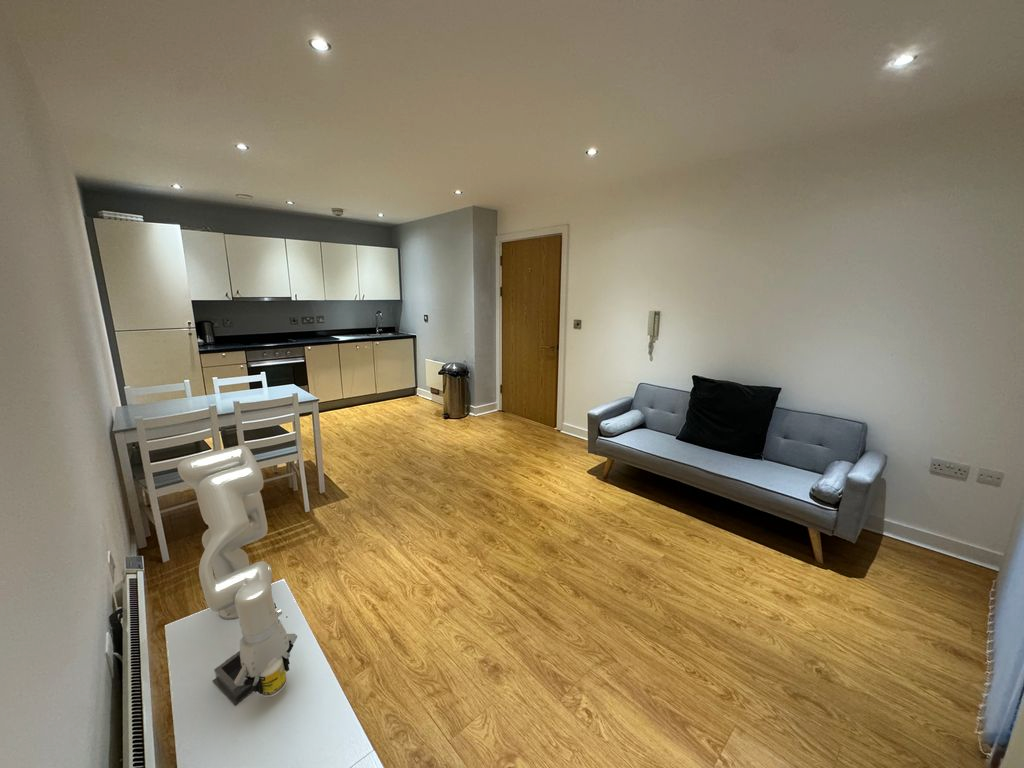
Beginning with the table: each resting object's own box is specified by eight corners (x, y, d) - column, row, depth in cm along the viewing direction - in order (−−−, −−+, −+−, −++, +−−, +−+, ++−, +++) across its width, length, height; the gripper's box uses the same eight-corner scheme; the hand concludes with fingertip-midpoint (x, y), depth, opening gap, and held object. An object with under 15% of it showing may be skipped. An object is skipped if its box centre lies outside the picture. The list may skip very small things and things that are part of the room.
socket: (212, 682, 112) (209, 670, 110) (257, 648, 121) (255, 637, 120) (235, 706, 106) (231, 693, 104) (280, 668, 116) (277, 656, 114)
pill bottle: (256, 700, 104) (248, 669, 101) (265, 676, 110) (258, 646, 106) (282, 695, 105) (275, 664, 102) (290, 672, 111) (283, 642, 108)
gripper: (285, 597, 110) (295, 646, 116) (214, 647, 96) (229, 700, 102) (302, 609, 106) (311, 659, 112) (230, 663, 92) (245, 717, 98)
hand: (272, 678), depth 107 cm, fingers closed on pill bottle, 6 cm apart
